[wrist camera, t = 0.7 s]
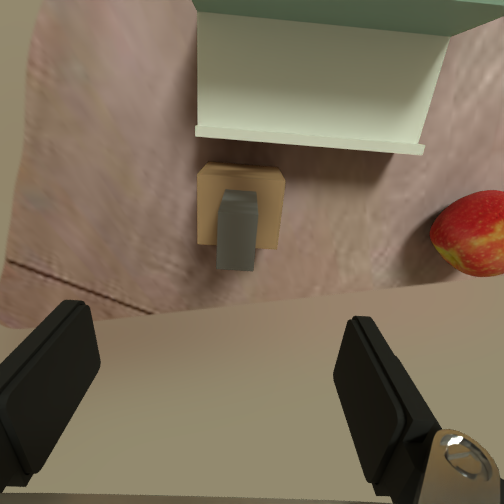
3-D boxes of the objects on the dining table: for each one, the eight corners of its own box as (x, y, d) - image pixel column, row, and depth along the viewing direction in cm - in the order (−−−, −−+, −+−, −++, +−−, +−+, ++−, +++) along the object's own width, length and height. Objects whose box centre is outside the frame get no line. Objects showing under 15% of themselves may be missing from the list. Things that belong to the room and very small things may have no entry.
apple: (407, 215, 31) (454, 245, 24) (482, 165, 29) (559, 181, 22) (437, 265, 34) (488, 305, 27) (509, 222, 32) (585, 253, 25)
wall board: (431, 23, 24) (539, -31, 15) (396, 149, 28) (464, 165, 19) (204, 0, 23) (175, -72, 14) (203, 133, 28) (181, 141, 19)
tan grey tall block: (277, 166, 29) (296, 201, 17) (271, 222, 32) (284, 286, 20) (208, 161, 29) (180, 193, 17) (207, 218, 31) (183, 279, 20)
